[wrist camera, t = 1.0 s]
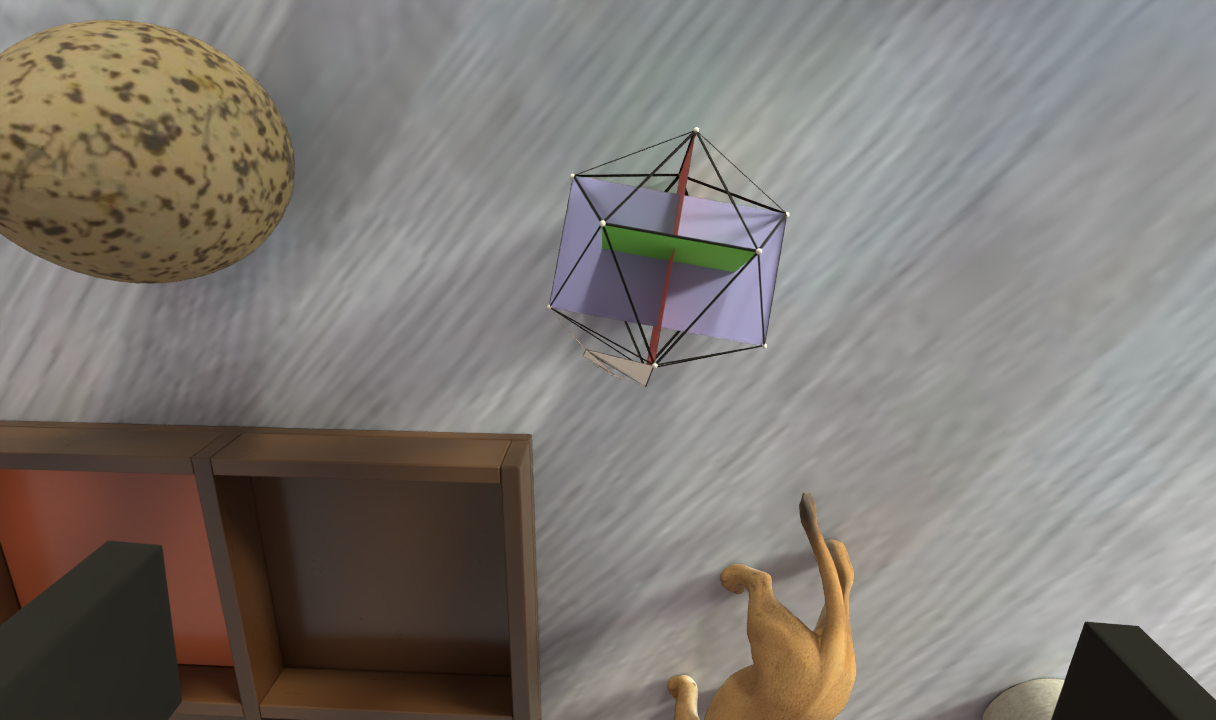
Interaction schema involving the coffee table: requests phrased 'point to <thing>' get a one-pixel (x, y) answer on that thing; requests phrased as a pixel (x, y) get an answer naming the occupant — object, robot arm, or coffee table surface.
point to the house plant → (1026, 701)
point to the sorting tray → (300, 560)
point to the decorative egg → (137, 153)
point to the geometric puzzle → (667, 262)
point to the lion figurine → (786, 646)
